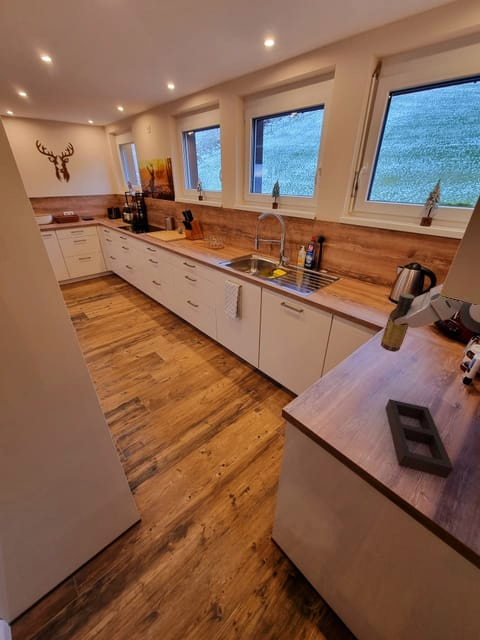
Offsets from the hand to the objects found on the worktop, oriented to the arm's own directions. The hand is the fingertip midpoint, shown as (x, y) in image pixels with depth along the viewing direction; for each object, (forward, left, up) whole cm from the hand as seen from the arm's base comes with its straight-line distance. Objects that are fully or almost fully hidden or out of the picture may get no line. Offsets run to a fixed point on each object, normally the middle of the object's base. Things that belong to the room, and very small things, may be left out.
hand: (397, 318), depth 87 cm
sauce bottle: (-1, 0, -12) cm, 12 cm away
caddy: (-5, +28, -23) cm, 37 cm away
